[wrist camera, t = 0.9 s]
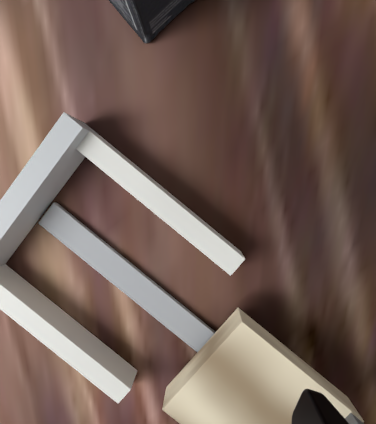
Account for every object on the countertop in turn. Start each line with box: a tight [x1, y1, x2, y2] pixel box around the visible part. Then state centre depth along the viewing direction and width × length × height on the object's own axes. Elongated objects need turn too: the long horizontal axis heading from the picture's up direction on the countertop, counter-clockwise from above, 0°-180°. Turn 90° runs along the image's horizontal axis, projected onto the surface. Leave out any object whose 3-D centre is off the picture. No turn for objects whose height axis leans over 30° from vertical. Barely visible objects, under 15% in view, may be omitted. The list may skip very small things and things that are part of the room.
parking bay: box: [0, 113, 245, 403], centre depth 19 cm, size 14×29×3 cm, turn 51°
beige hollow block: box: [162, 308, 364, 424], centre depth 17 cm, size 8×10×7 cm
